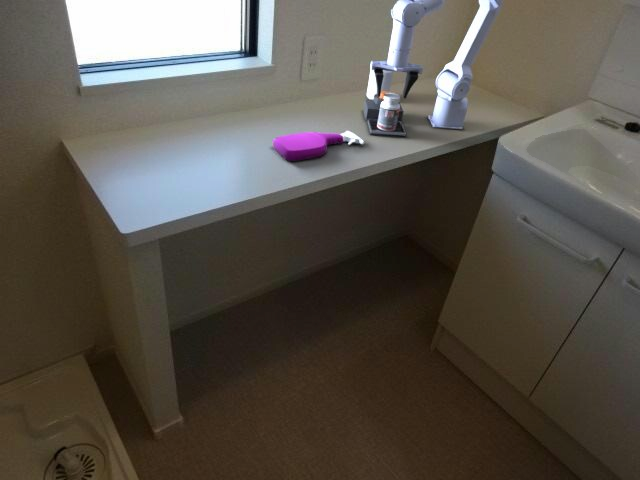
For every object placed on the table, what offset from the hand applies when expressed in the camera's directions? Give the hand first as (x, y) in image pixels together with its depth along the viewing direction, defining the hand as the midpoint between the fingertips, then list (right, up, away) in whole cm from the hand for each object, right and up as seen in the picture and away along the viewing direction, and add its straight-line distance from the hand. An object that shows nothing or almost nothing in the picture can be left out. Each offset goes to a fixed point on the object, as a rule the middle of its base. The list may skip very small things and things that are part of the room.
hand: (391, 96), depth 140 cm
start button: (-1, +3, +11) cm, 11 cm away
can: (-1, +7, +26) cm, 26 cm away
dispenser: (-1, -3, +13) cm, 13 cm away
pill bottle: (-1, -8, +5) cm, 10 cm away
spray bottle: (-21, -17, -8) cm, 28 cm away
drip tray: (-1, -9, +5) cm, 10 cm away
